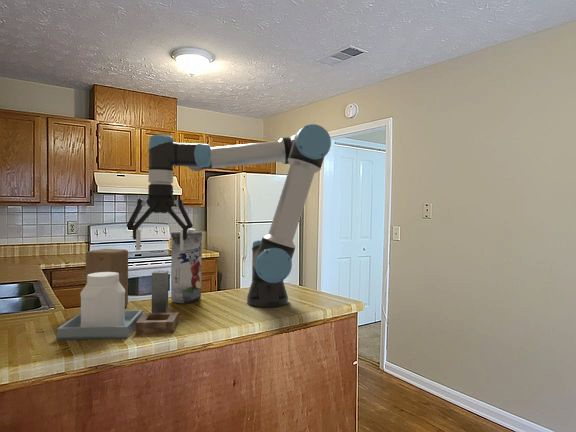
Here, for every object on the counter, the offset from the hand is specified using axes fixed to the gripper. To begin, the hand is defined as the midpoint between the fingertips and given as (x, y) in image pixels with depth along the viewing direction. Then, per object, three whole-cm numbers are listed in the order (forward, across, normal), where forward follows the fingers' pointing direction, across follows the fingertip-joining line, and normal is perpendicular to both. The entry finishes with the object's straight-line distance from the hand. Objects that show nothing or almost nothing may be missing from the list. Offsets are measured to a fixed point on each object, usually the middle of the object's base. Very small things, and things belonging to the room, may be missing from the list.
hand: (160, 250), depth 129 cm
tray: (+21, +13, +14) cm, 28 cm away
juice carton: (+21, -6, -19) cm, 29 cm away
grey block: (+21, 0, 0) cm, 21 cm away
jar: (+21, +13, +14) cm, 28 cm away
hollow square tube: (+21, -2, +14) cm, 25 cm away
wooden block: (+21, +19, -9) cm, 30 cm away
